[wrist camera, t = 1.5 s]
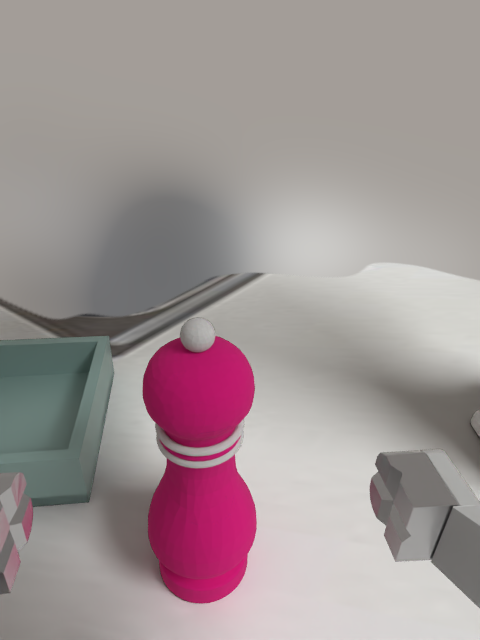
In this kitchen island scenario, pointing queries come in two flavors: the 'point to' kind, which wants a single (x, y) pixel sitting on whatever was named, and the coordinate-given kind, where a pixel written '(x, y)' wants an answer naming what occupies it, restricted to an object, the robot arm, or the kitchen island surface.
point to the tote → (54, 414)
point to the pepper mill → (200, 463)
